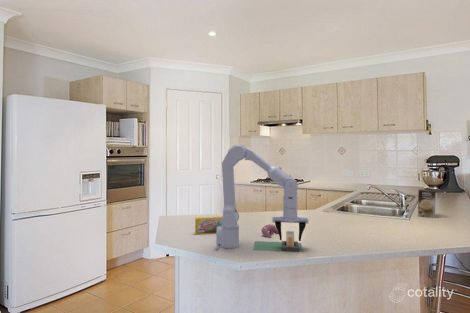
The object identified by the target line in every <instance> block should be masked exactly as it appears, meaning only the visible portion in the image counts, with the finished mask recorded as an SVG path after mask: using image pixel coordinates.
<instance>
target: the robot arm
mask: <svg viewBox="0 0 470 313" xmlns="http://www.w3.org/2000/svg"><path fill="white" fill-rule="evenodd" d="M242 160H244V161H251V162H253V163H254V164H256V165H257V166H258V167H260V168H261V169H262V170H264V171H265V172H267V177H268V179H271V181H273V182H274V183H276V184H277V185H278V186H279V187H282V188H283V196H282V199H283V200H282V202H283V203H282V204H283V205H282V216H272V217H271V218H272V221H271V222H272V223H273V224H274V226H275V227H276V228H277V230H278V233H279V234H278V236H279V241H283V240H282V223H291V224H292V223H293V224H298V242H301V241H302V237H303V233H304V231H305V229H306V226H307V225H308V224H309V218H308V217H302V216H301V217H300V216H298V196H297V195H298V190H299V185H298V182H297V180H296V179H295V178H294V177H292V176H291V174H288V173H287V172H285V171H284V170H283V167H281V166H277V165H271V163H269V162H267V160H265V159H264V158H262V157H261V155H259V154H257V152H255V151H254V150H252V149H250V148H248V147H247V146H246V145H244V144H238V143H237V144H234V145H233V146H231V147H230V148H228V150H227V153H226V154H225V156H224V158H223V160H222V162H221V175H222V192H223V208H222V219H221V223H222V226H221V227H217V232H216V233H215V236H216V237H215V238H216V240H215V242H216V246H215V247H216V248H215V250H217V251H218V250H219V251H220V248H225V249H236V248H239V247H240V225H239V224H238V221H239V220H240V214H239V212H238V210H237V203H236V192H235V174H234V173H235V172H234V167H235V166H236V165H237V164H238V163H239V162H240V161H242Z"/></svg>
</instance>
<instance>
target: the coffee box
mask: <svg viewBox="0 0 470 313" xmlns="http://www.w3.org/2000/svg"><path fill="white" fill-rule="evenodd" d="M417 198H418V200H417V217H421V218H423V217H424V218H429V219H430V218H431V219H435V218H436V190H434V189H433V190H431V189H418V194H417Z"/></svg>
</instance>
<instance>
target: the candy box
mask: <svg viewBox="0 0 470 313" xmlns="http://www.w3.org/2000/svg"><path fill="white" fill-rule="evenodd" d="M222 216H223V215H222ZM222 216H202V217H201V216H199V217H197V216H196V217H194V219H195V220H194V223H195V225H194V229H195V231H194V232H195V233H194V234H195V235H208V234H209V235H210V234H213V235H214V234H216V232H217V227H221V226H222V223H221V219H222Z"/></svg>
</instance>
